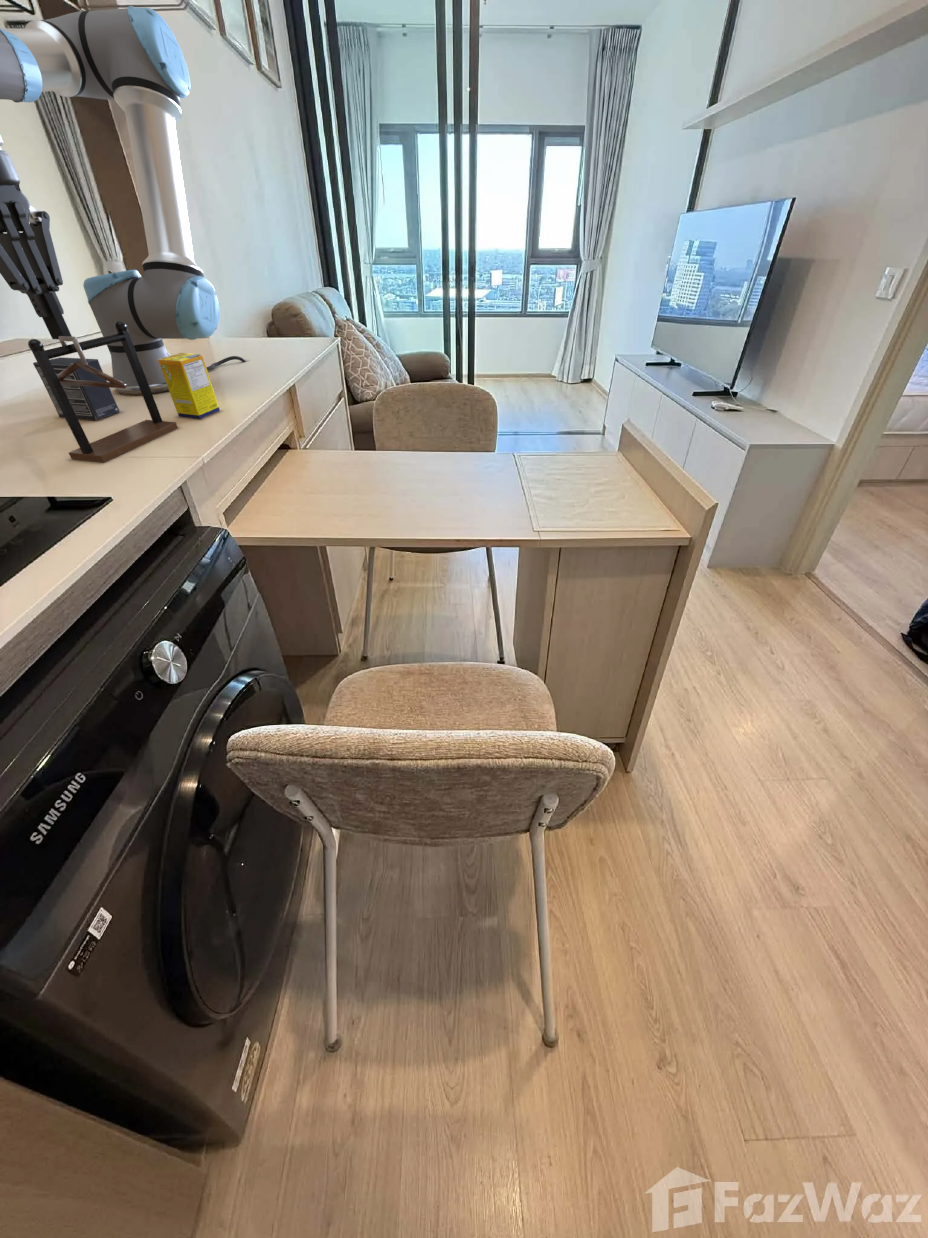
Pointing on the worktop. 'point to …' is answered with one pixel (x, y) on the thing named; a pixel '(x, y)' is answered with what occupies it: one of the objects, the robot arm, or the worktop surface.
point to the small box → (82, 391)
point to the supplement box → (189, 385)
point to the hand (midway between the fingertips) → (62, 338)
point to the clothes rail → (87, 451)
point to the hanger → (84, 365)
